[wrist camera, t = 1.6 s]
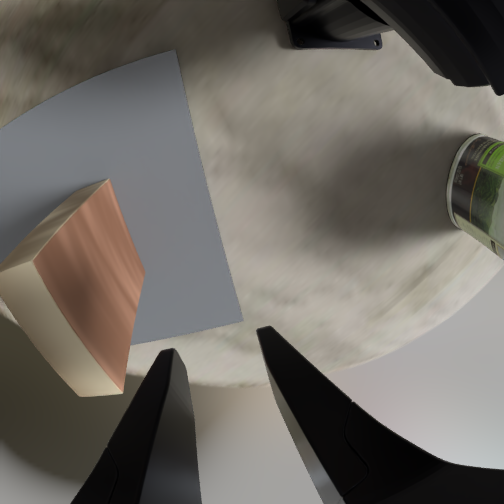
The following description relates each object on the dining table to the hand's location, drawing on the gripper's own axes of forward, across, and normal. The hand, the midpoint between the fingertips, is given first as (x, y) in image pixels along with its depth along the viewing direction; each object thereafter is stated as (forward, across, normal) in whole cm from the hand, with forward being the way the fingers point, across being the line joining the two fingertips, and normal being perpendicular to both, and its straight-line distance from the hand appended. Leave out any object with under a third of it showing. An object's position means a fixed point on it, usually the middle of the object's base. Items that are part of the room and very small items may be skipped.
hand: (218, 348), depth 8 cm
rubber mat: (+12, +10, 0) cm, 15 cm away
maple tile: (+12, +6, 0) cm, 13 cm away
